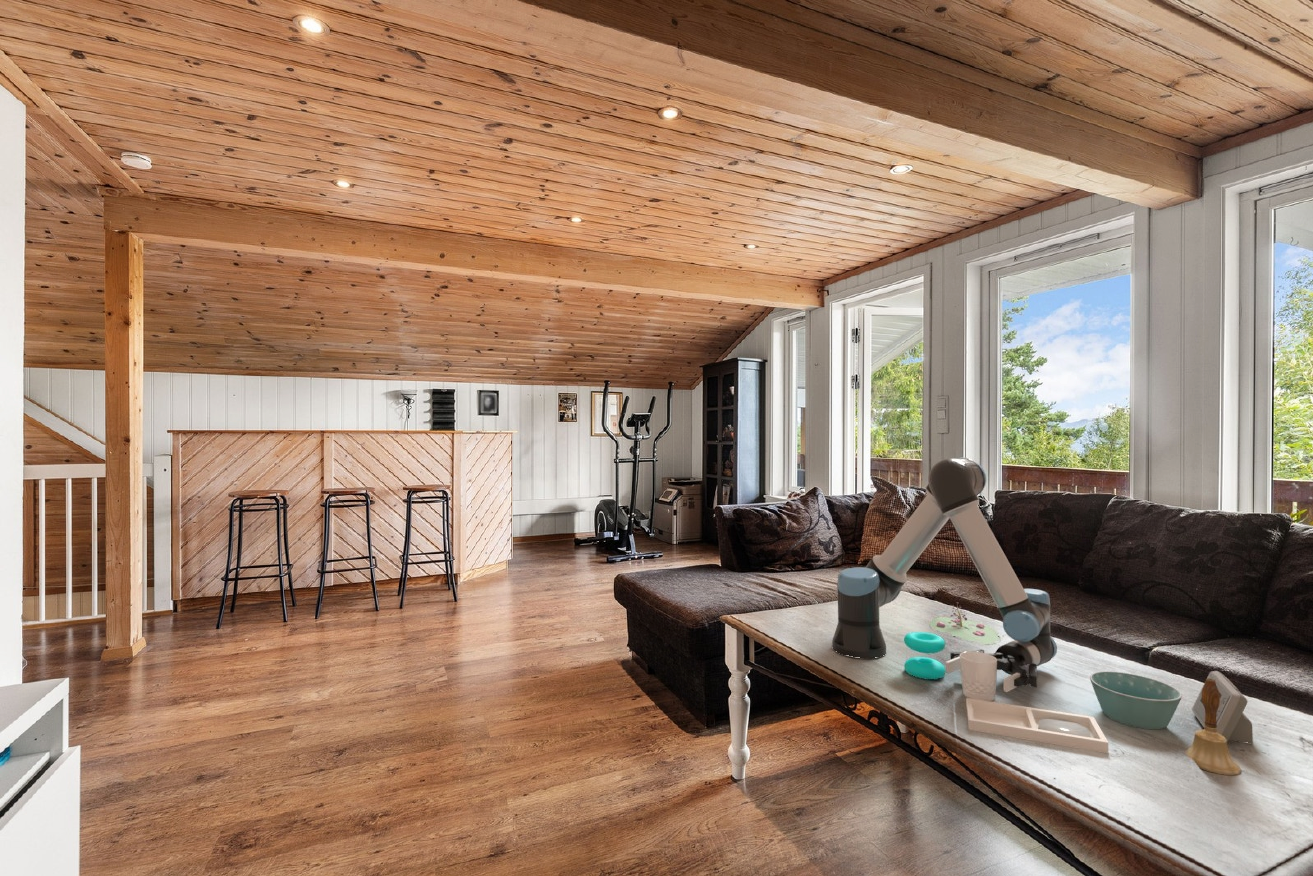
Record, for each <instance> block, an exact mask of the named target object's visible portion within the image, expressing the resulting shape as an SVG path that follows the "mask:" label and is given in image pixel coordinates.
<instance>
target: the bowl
mask: <svg viewBox="0 0 1313 876" xmlns="http://www.w3.org/2000/svg"><path fill="white" fill-rule="evenodd" d="M1089 679H1090V683H1091V685H1092V688H1093V691H1094V694H1095V697H1096V698H1097V701H1098V703H1099V706H1100V709H1101V710H1102V713H1103V714H1104V715H1105V716H1107V717H1108V718H1109V719H1111V720H1112V721H1115V722H1118V723H1120V724H1123V725H1126V726H1128V727H1129V726H1130V727H1133V728H1138V729H1145V730H1161V729H1165V728H1167V727H1168V726H1169V724H1170V722H1171V720H1172V719H1173V717H1174V715H1175V713H1176V711H1177V708H1178V706H1179V704H1180V702H1181V699H1182V697H1183V695H1182V693H1181V691H1180V690H1178V689H1177V688H1175V687H1174V686H1172V685H1169V684H1168V683H1165V682H1162V681H1160V680H1157V679H1153V678H1152V677H1150V678H1149V677H1146V676H1142V675H1137V674H1132V673H1127V672H1119V671H1096V672H1093V673H1091V674H1090V676H1089Z"/></svg>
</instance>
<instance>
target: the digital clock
mask: <svg viewBox="0 0 1313 876" xmlns="http://www.w3.org/2000/svg"><path fill="white" fill-rule="evenodd" d="M1206 677H1207V678H1206V679H1213V680H1215V682H1216V686H1217V688H1218V690H1219V694H1220V704H1219V708H1218V710H1217V713H1216V721H1217V733H1219V734H1220V735H1222V736H1224V737H1225V738H1226V740H1227V742H1229V741H1230V740H1235V741H1240V742H1239V743H1241V742H1248V743H1253V742H1254V740H1253V739H1254V738H1253V723H1252V721H1251V720H1250V719H1249V718H1248V717H1247V716H1246V715H1245V713H1244V710H1245V708H1246V706H1247V705H1248V699H1247V698H1246V696H1244V694H1242V693H1241V691H1240V690H1239V689H1238V688H1237V686H1235V684H1233V682H1232V681H1231V680H1230V679H1229V678H1227V676H1225V675H1224V674H1223V673H1222V672H1220V671H1218V670H1214V671H1210V672H1209V673H1208V676H1206ZM1204 684H1205V682H1204V683H1203V686H1204ZM1203 686H1202V688H1203ZM1202 688H1201V689H1200V692H1199V694H1198V696H1197V698H1196V699H1195V701H1194V704H1193V706H1192V709H1191V711H1192V712H1193V714H1194V716H1195V717H1196V719H1197V720H1198V722H1199V723H1200V724H1201V725H1202V727H1203V728H1204V729H1205V708H1204V706H1203V702H1202ZM1235 741H1234V742H1235Z"/></svg>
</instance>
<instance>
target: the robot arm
mask: <svg viewBox="0 0 1313 876" xmlns="http://www.w3.org/2000/svg"><path fill="white" fill-rule="evenodd" d="M986 483H987V474H986V471H985V469H984V468H983V466H982V465H981V464H979V462H977V461H975V460H974V459H971V458H967V457H955V458H946V459H942V460H940V461H938V462H936V463H935V464H934V465H933V466H932V467H931V469H930V471H929V473H928V484H927V486H926V487H925V492H926V496H925V497H924V498H923V500H922V501H921V502H920V504H919V505H918V506H917V508H916V509H915V510H914V511H913V513H912V514H911V515H910V517H909V518H908V520H906V522H905V523H904V525H903V526H902V527H901V529H900V530H899V532H898V533H897V534H896V535H895V537H894V538H893V539H892V540H891V542H890V543H889V544H888V546H887V547H886V548H885V549H884V551H883V552H882V554H878V555H873V557H872V558H871V559H870V560H869V562H868V563H867V564H866V566H865V567H862V566H859V567H858V566H856V567H855V566H854V567H851V568H850V567H848V568H845V569H842V570H841V571H840V572H839V573H838V575H837V583H836V586H837V625H836V628H835V631H834V634H833V637H832V640H831V641H832V643H831V644H832V645H831V646H832V647H833V649H832V650H833V651H834V650H835V651H837V652H838V653H840V654H839V655H841V654H843V655H842V656H844V655H849V656H853V657H860V658H874V659H876V658H875V657H880V656H883V655H885V654H887V644H886V641H885V638H884V635H883V633H882V629H881V626H880V608H881V607H883V606H884V605H887V604H890V603H891V602H893V601H895V600H896V599H897V598H898V597H899V595H900V593H901V590H902V587H903V586H904V585H905V583H906V582H907V580H908V576H907V572H908V571H909V570H910V568H911V567H912V566H913V565H914V563H915V562H916V561H917V559H919V557H920V556H921V554H923V552H924V551H925V550H926V548H927V547H928V546H929V545H930V543H931V542H932V541H933V540H934V538H935V537H936V535H938V533H939V532H940V531H941V530H942V528H943V527H944V526H945V525H946V523H947V522H948V521H949V519H950V522H951V523H952V525H953V527H954V529H955V531H956V532H957V535H958V536H959V538H960V540H961V542H962V543H963V546H964V547H965V550H966V551H967V553H968V555H969V557H970V558H971V560H972V562H973V564H974V566H975V568H976V570H977V571H978V573H979V575H980V577H981V580H982V581H983V583H984V585H985V587H986V588H987V590H988V593H989V594H990V596H991V598H992V599H993V602H994V604H995V605H996V608H997V609H998V611H999V613H1000V615H1001V617H1002V627H1003V630H1004V633H1005V634H1006V635H1007V636H1008V637H1009V638H1010V639H1012V640H1011V641H1008V642H1006V643H1005V644H1002V645H1001V646H1000V645H999V647H997V649H996V651H995V652H993V653H985V650H984V649H977V650H968V651H966V650H965V651H964V652H981V653H985V654H989V655H992V656H994V657H995V658H996V659H997V670H998V671H1003V672H1004V673H1006V674H1008V675H1009V676H1007V677H1005V678H1003V681H1002V682H1003V691H1004V692H1006V693H1008V692H1010V691H1012V690H1014V689H1016V688H1021V687H1023V686H1024V687H1026V686H1028V685H1030V687H1032V688H1035V689H1036V688H1038V677H1037V676H1038V669H1037V667H1039V666H1042V665H1043V664H1046V663H1048V662H1050V661H1051V660H1052V659H1054V657H1055V656H1057V652H1058V646H1057V643H1056V641H1055V639H1054V638H1053V637H1052V636H1051V635H1052V634H1051V603H1050V601H1051V599H1050V595H1049V593H1048V592H1046V591H1044V590H1041V589H1036V588H1035V589H1034V588H1024V587H1023V585H1022V583H1021V582H1020V580H1019V578H1018V576H1017V574H1016V573H1015V570H1014V569H1013V567H1012V565H1011V563H1010V561H1009V560H1008V558H1007V556H1006V554H1005V553H1004V551H1003V549H1002V547H1001V545H1000V544H999V541H998V540H997V538H996V537H995V534H994V532H993V531H992V529H991V527H990V526H989V523H988V521H987V519H986V518H985V516H984V515H983V512H982V511H981V509H980V508H979V503H980V498H979V497H978V496H979V494H981V493H982V492H983V490H984V489H985V487H986ZM835 651H834V652H835ZM837 652H836V653H837ZM962 652H963V651H954V652H953V651H952V652H950V659H949V660H947V661H945V670H946V673H945V674H948V675H949V674H951V673H954V672H956V671H959V670H961V666H960V654H961V653H962ZM838 653H837V654H838ZM885 656H886V655H885ZM883 657H884V656H883ZM880 658H881V657H880Z"/></svg>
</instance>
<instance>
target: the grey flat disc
mask: <svg viewBox="0 0 1313 876" xmlns="http://www.w3.org/2000/svg"><path fill="white" fill-rule="evenodd" d="M1038 729H1040V730H1046V731H1053V732H1059V733H1065V734H1071V735H1077V736H1084V737H1090V738H1091V733H1090V731H1089V730H1088V729H1087V728H1085V727H1083V726H1081V725H1079V724H1077V723H1074V722H1070V721H1066V720H1061V719H1042V720H1040V721H1039V722H1038Z"/></svg>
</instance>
